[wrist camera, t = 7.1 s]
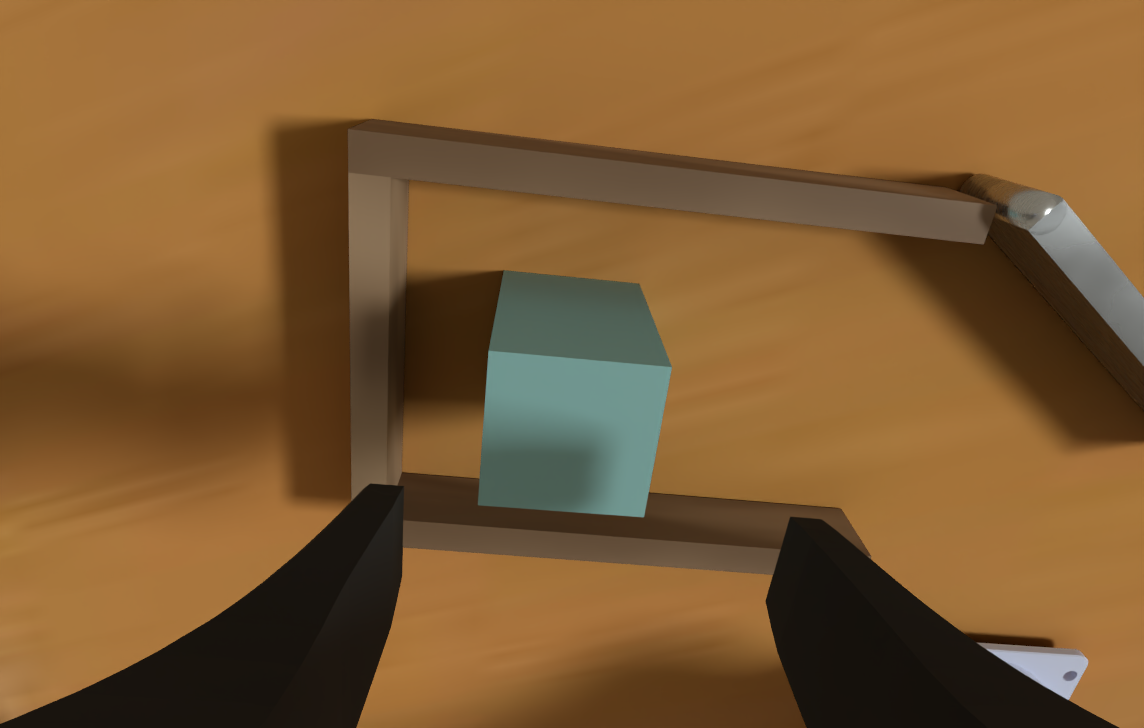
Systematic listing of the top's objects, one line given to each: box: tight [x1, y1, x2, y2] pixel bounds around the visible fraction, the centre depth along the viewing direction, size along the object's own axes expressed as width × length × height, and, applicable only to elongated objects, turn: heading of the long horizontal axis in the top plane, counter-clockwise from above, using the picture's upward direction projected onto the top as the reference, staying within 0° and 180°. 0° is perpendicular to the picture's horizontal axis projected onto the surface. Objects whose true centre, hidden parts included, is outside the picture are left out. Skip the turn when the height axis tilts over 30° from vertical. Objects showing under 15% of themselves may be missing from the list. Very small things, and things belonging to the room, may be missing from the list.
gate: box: [960, 174, 1144, 411], centre depth 20 cm, size 12×1×3 cm, turn 48°
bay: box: [348, 119, 998, 575], centre depth 21 cm, size 12×16×2 cm
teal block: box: [478, 270, 672, 517], centre depth 19 cm, size 4×4×6 cm
